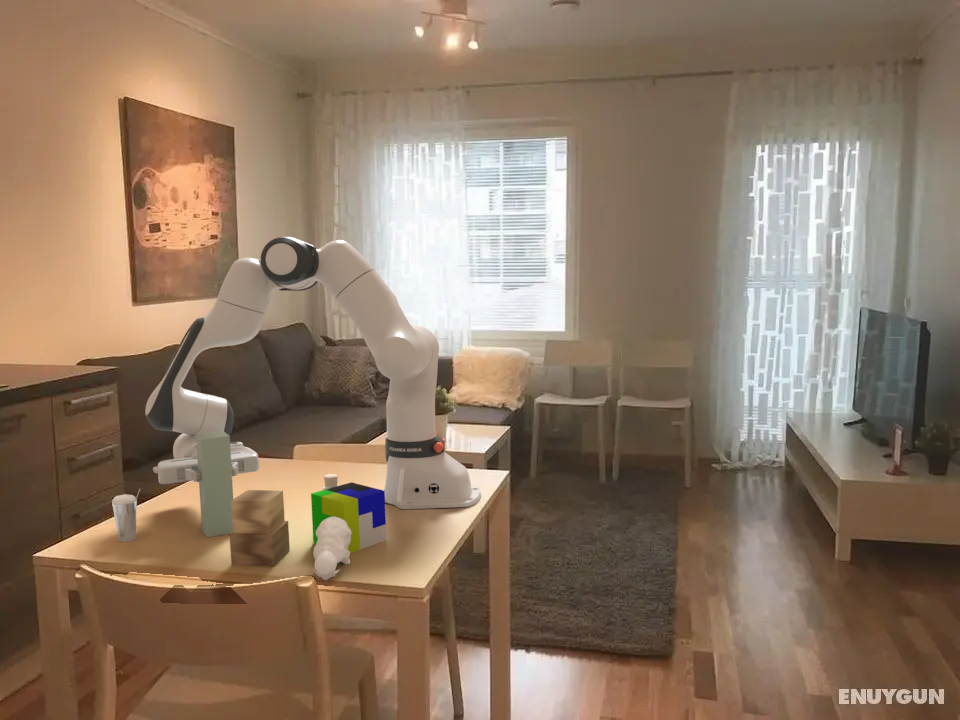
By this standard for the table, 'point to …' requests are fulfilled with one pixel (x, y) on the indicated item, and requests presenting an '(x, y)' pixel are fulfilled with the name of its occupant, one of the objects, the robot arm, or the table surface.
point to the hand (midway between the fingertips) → (215, 474)
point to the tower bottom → (260, 547)
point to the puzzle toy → (352, 512)
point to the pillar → (215, 482)
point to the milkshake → (125, 516)
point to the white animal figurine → (331, 546)
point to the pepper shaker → (330, 481)
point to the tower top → (257, 511)
